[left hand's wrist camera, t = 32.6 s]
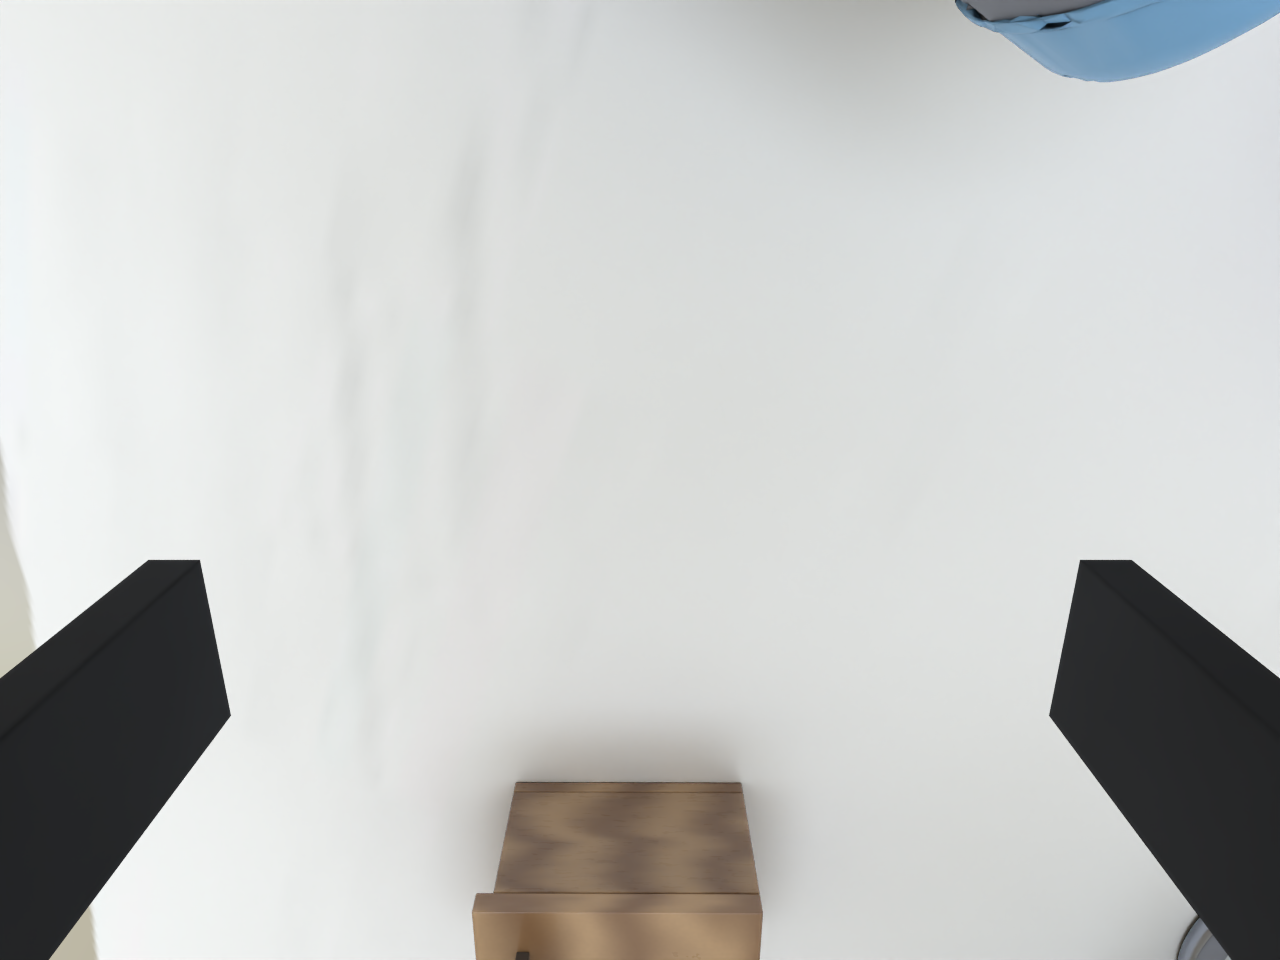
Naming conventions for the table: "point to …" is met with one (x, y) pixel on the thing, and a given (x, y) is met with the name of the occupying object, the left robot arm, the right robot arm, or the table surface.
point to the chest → (627, 839)
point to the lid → (617, 926)
